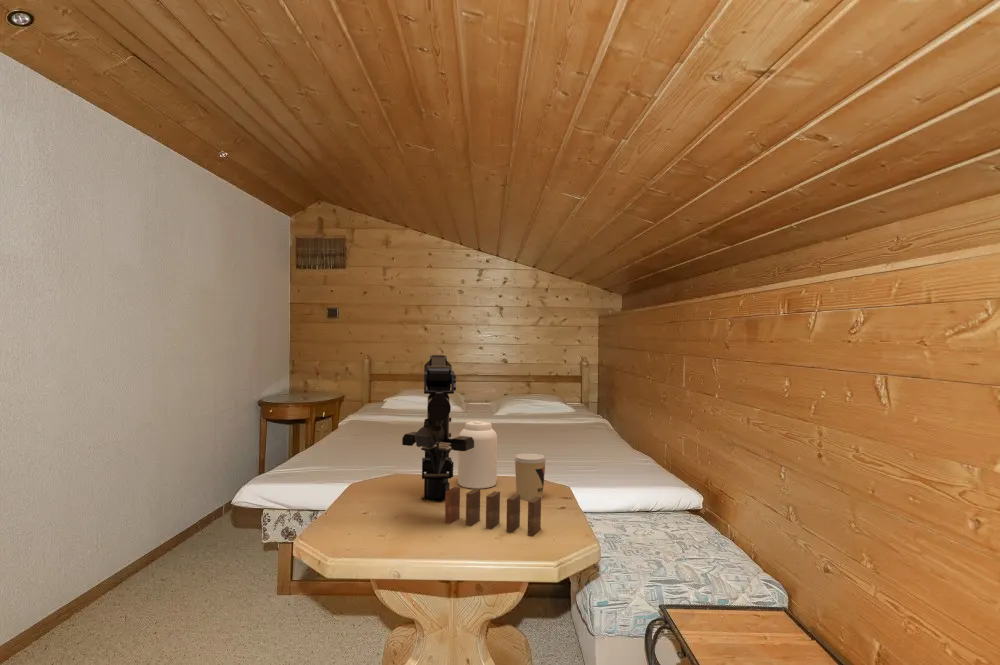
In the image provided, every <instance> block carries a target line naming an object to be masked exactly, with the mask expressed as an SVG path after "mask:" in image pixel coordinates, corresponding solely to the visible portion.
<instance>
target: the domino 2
mask: <svg viewBox="0 0 1000 665" xmlns="http://www.w3.org/2000/svg"><path fill="white" fill-rule="evenodd" d="M465 496H466V497H465V526H468V527H472V526H474V525H475V524H477V523H478V522H480V521H481V489H472V490H470V491H468V492H467V493H466V494H465Z"/></svg>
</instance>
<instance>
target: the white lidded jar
mask: <svg viewBox="0 0 1000 665" xmlns="http://www.w3.org/2000/svg"><path fill="white" fill-rule="evenodd" d="M492 425H493V424H492V423H491V422H490V421H487V420H486V421H485V420H470V421H467V422H465V424H464V428H463V429H461V431H460V432H459V435H458V437H459V436H466V437H472V438H473V440H474V448H472V449H469V450H467V451H457V454H458V456H457V458H458V459H457V483H458V485H459V486H461V487H462V488H465V489H472V490H473V489H480V490H481V489H483V490H484V489H489V488H491V487H492V488H493V487H495V486H496V485H497V480H498V479H497V476H498V474H497V473H498V434H497V432H496V430H494V429H493V428H492V427H493V426H492Z"/></svg>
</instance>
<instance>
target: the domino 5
mask: <svg viewBox="0 0 1000 665" xmlns="http://www.w3.org/2000/svg"><path fill="white" fill-rule="evenodd" d="M541 517H542V498H541V497H534V498H532V499H531V500H527V536H529V537H530V536H531V537H535V536H536V535H537V534H538V533H539V532H540V531H541V527H542V524H541V523H542V522H541V520H542V518H541Z"/></svg>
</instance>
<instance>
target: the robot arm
mask: <svg viewBox="0 0 1000 665" xmlns="http://www.w3.org/2000/svg"><path fill="white" fill-rule="evenodd" d="M447 359H448V357H447V355H444V354H443V355H441V354H432V355H430V356H429V360H428V361H427V362H426V363H425V364H424V366H423V394H425V395H426V394H427V395H428V396H427V407H426V408H427V415H426V416H427V417H426V418H425V419H424V422H423V427H421V428H419V429H418V431H410V432H407V433H405V434H404V435H403V436H402V437H401V438H402V439H401V445H402V446H408V447H412V446H414V444H416V445H415V446H416V447H418V448H420V450H421V451H424V457H422V459H421V461H422V462H421V480H424V487H423V488H424V489H423V490H424V491H423V496H421V498H420V499H421V500H423V501H430V502H437V503H442V502H444V501H445V494H446V491H447V490H449V489H450V482H449V480H450V479H452V478H454V462H453V460H452V457H450V453H451V451H452V450H453V451H456V452H458V451H467V450H469V449H472V448H474V440H473V438H472V437H466V436H459V435H458V436H456V437H454V438H451V437H452V432H450V423H451V422H452V417H451V416H450V413H451V409H452V407H451V403H450V396H449V394H450V395H452V394H454V393H455V392H456V391H457V375H456V373H455V371H454V370H452V368H453V367H452V366H453V365H452V364H451V363H450V362H449V361H448V360H447ZM454 391H455V392H454Z"/></svg>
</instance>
